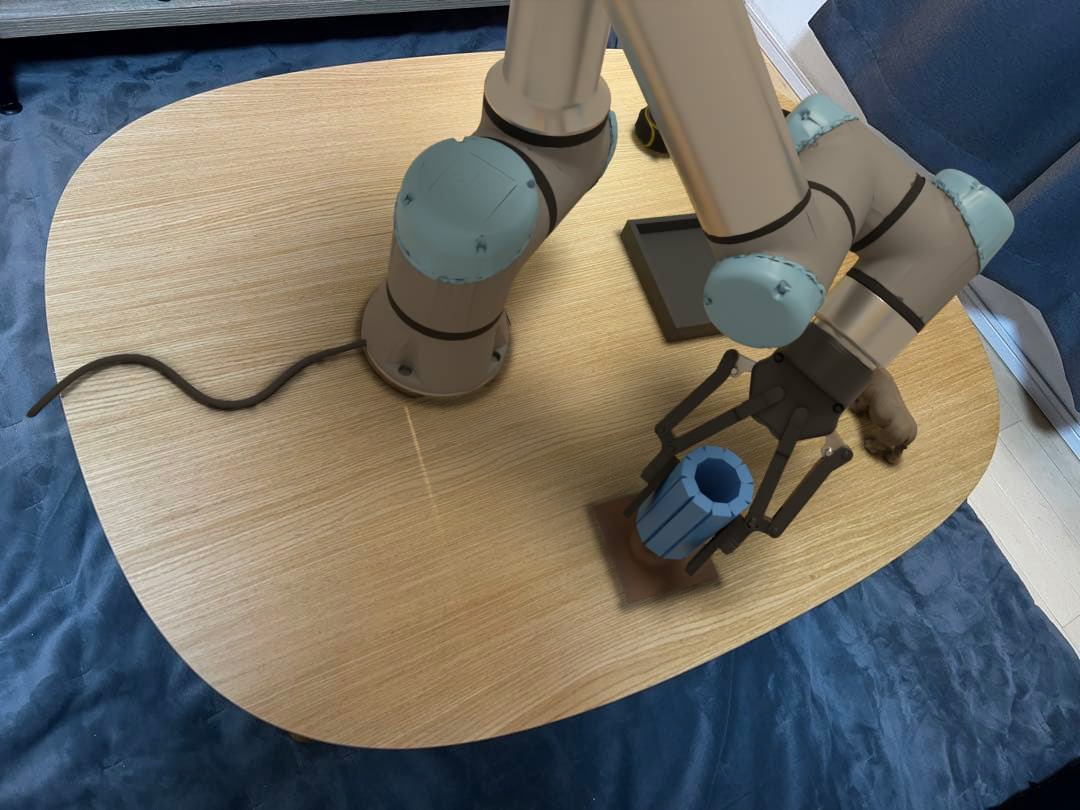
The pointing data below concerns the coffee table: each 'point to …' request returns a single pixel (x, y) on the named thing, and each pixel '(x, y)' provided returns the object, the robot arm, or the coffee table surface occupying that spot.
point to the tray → (673, 271)
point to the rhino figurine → (887, 415)
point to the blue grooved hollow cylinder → (695, 502)
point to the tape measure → (649, 132)
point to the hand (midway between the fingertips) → (658, 540)
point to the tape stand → (643, 556)
